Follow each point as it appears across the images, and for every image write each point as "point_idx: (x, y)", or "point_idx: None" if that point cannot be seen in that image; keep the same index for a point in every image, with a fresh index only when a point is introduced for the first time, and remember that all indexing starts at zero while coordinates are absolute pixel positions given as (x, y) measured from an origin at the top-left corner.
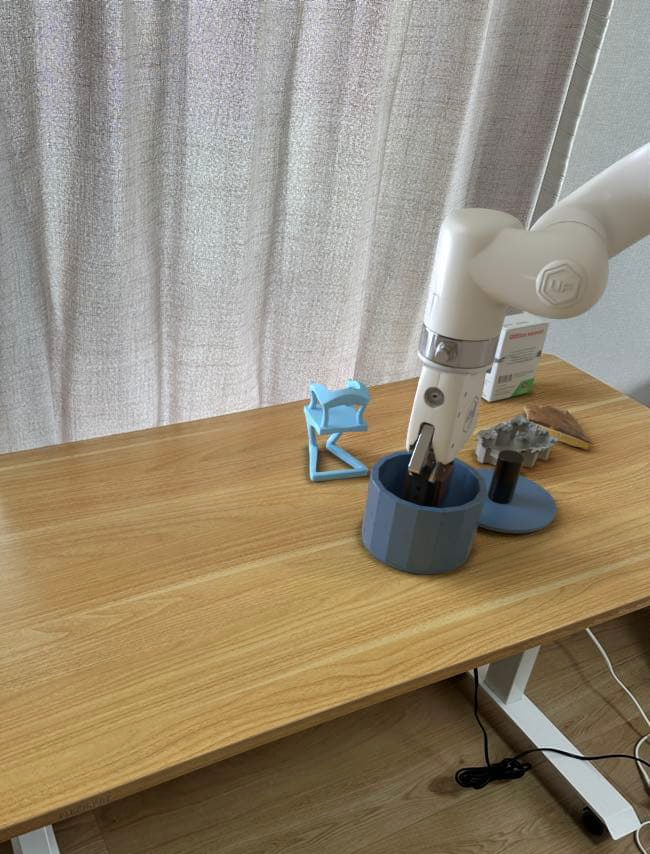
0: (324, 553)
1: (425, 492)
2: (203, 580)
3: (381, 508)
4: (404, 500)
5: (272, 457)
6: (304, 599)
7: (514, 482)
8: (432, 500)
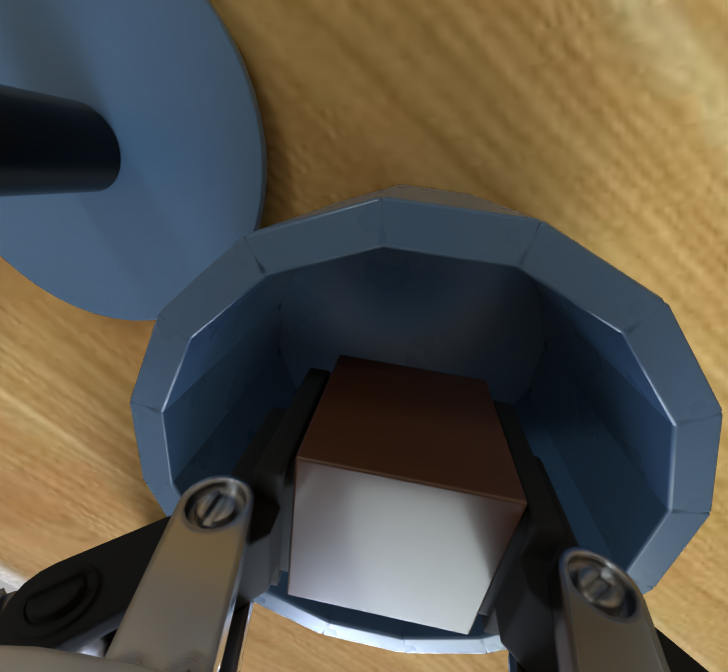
0: None
1: (563, 515)
2: (685, 645)
3: None
4: (630, 564)
5: (256, 608)
6: (723, 512)
7: (4, 91)
8: (524, 442)
